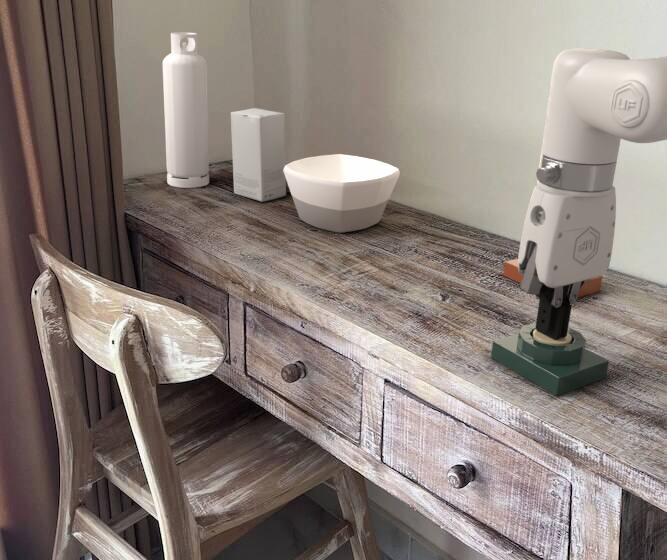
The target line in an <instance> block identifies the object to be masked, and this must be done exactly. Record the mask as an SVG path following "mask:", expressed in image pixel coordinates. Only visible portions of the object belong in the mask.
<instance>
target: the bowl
mask: <svg viewBox="0 0 667 560" xmlns="http://www.w3.org/2000/svg"><path fill="white" fill-rule="evenodd" d="M283 171H284V174H285V177H286V184H287V186H288V189H289V192H290V195H291V197H292V199H293V203H294V206H295V208H296V212H297V215H298V218H299V219H300V220H301V221H302V222H304V223H306V224H308V225H310V226H312V227H314V228H317V229H321V230H324V231H329V232H334V233H338V234H339V233H340V234H341V233H349V232H350V233H351V232H357V231H360V230H361V231H362V230H364V229H367V228H370V227H372V226H374V225H376V224H378V223H379V222H380V221H381V219H382V216H383V214H384V211H385V209H386V208H387V205H388V202H389V201H390V199H391V196H392V193H393V192H394V189H395V187H396V184H397V181H398V179H399V178H400V174H401V171H400V169H399V168H398V167H396V166H394V165H391V164H389V163H386V162H383V161H380V160H376V159H372V158H368V157H362V156H357V155H350V154H349V155H348V154H344V153H343V154H342V153H337V154H322V155H317V156H309V157H305V158H300V159H297V160H294V161H291V162H289V163H287V164H285V167H284V169H283Z"/></svg>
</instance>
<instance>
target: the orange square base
mask: <svg viewBox="0 0 667 560" xmlns="http://www.w3.org/2000/svg"><path fill="white" fill-rule="evenodd" d="M503 276H504V277H506V278H507V279H510V280H512V281H515V282H517V283H518V284H521V282H522V278H523V275H522V274H520V273H519V270H518V258H514V259H510V260H506V261H505V262H504V267H503ZM602 281H603V276H602V275H600V276H598V277H595V278H592V279H591V280H589V281H587V282H585V283H584V284H583V285H582V287H581V288H580V289H579V293H578V297H577V298H580V297H583V296H587V295H591V294H595V293H599V292H601V287H602Z"/></svg>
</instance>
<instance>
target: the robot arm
mask: <svg viewBox="0 0 667 560" xmlns="http://www.w3.org/2000/svg"><path fill="white" fill-rule="evenodd" d="M546 107H547V108H546V115H545V122H544V127H543V129H544V130H543V135H542V144H541V150H540V158H539V165H538V169H537V170H536V174H535V175H536V178H537V179H536V185H534V188H533V190H532V194H531V196H530V199H529V203H528V206H527V210H526V213H525V218H524V222H523V226H522V232H521V238H520V242H519V249H518V256H517V257H518V258H517V259H518V270H519V273H520V274H522V275H523V278H522V282H521V283H520V285H519V290H520V291H522V292H524V293H526V294H528V295H534V296H535V299H537V300H538V307H537V308H538V309H537V315H536V320H535V321H536V322H535V323H536V330H537V331H538V332H540V333H542V334H544V335H546V336H548V337H550V338H552V339H554V340H557V339H560V338H564V337H566V336H567V332H568V327H570V326H569V324H570V321H571V313H572V308H573V304H575V303H576V301H577V300H578V298H579V297H578V293H579V289H580V288H581V287H582V285H583V284H584V283H585V282H587V281H589V280H591V279H592V278H595V277H598V276H602V275H604V274H605V273H606V272H607V271H608V270H609V268H610V264H611V260H612V253H613V247H614V246H613V245H614V240H615V239H614V238H615V231H616V230H615V229H616V219H617V217H616V216H617V196H616V195H617V193H616V187H615V186H614V181H615V174H616V169H617V164H618V163H617V162H618V156H619V152H620V145H621V141H622V140H623V141H627V142H630V143H635V144H652V143H657V142H662V141H667V56H665V55H664V56H659V57H651V58H650V57H649V58H637V59H636V58H635V59H634V58H633V59H631V58H630V57H629V56H628V55H627V54H625V53H623V52H620V51H617V50H611V49H604V48H603V49H602V48H589V47H576V48H568V49H564V50H562V51H561V52H560V53H558V55H557V56H556V58H555V59H554V62H553V66H552V71H551V79H550V85H549V92H548V101H547V106H546Z"/></svg>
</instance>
